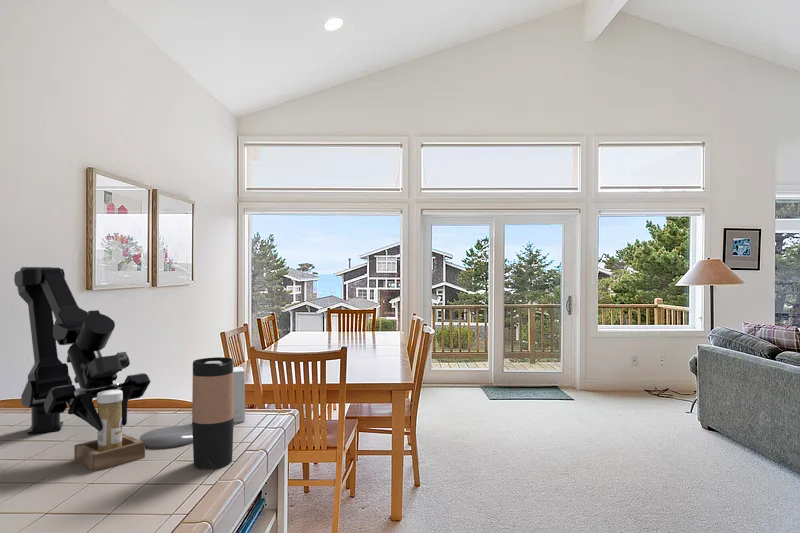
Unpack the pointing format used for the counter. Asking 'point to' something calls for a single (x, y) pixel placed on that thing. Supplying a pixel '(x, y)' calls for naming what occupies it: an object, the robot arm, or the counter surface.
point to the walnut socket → (109, 453)
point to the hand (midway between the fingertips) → (113, 427)
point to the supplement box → (239, 394)
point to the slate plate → (168, 437)
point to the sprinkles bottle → (110, 419)
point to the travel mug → (212, 412)
